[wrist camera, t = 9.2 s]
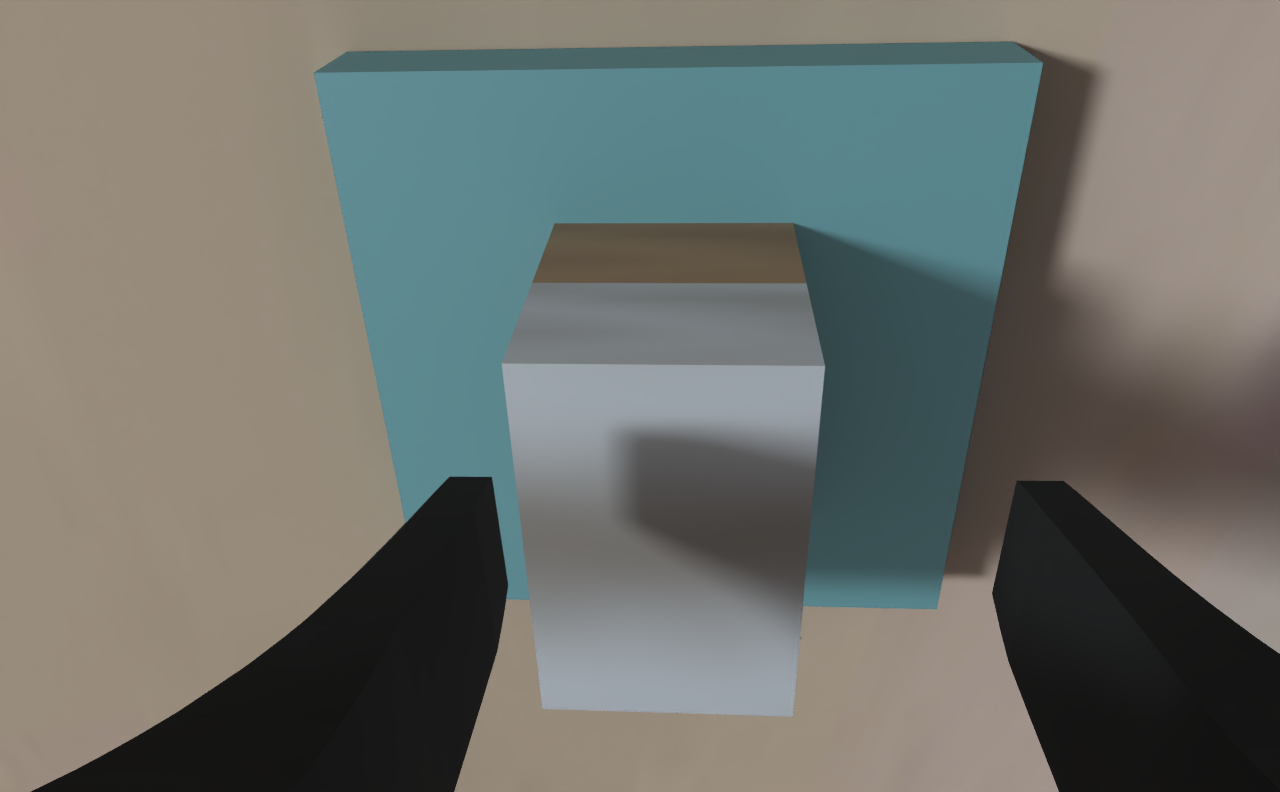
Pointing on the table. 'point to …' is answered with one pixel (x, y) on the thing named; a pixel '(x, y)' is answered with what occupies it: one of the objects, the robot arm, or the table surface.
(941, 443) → the teal stand
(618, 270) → the block
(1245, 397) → the table surface
